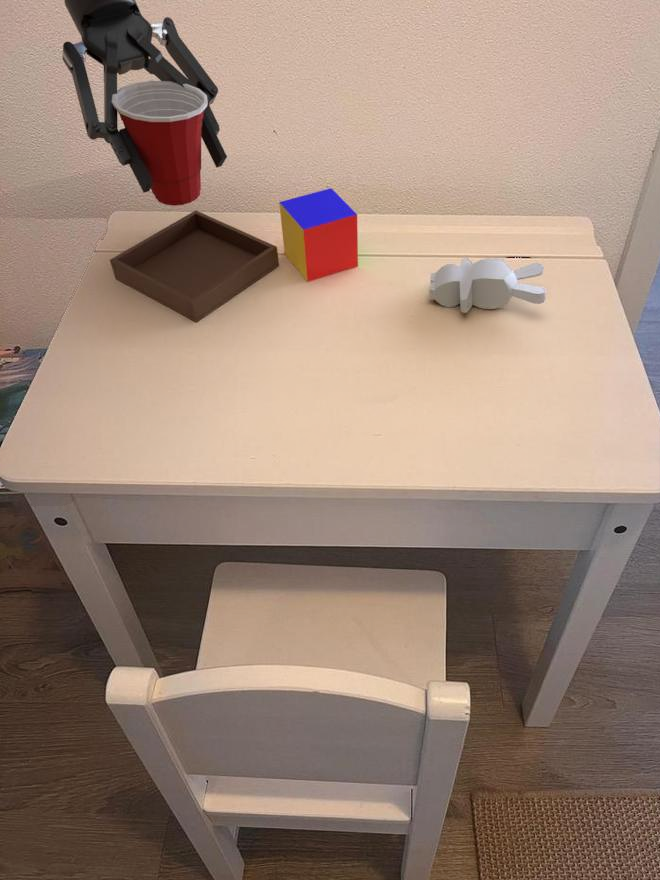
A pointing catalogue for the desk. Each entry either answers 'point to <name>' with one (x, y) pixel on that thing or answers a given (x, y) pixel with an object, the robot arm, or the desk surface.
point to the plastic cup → (166, 135)
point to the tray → (195, 264)
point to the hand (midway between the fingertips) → (185, 174)
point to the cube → (319, 234)
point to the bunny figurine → (484, 284)
